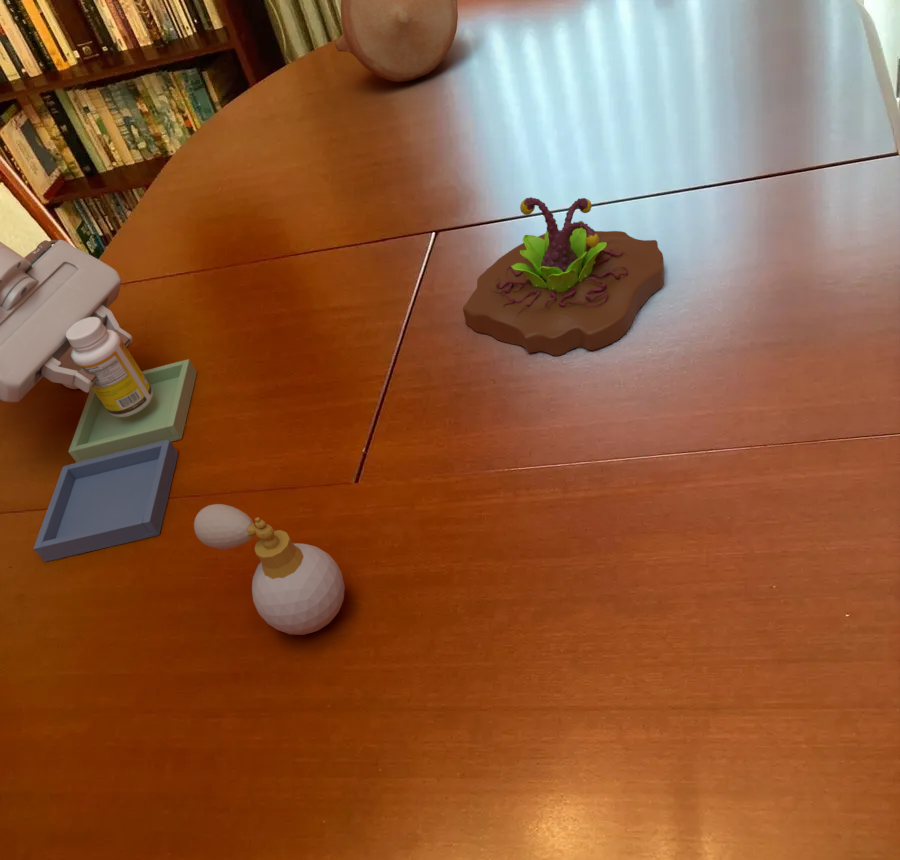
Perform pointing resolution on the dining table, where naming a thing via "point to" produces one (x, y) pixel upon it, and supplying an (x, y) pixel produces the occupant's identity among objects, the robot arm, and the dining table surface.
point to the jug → (398, 35)
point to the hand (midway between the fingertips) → (111, 365)
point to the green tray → (137, 416)
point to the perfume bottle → (279, 570)
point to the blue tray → (108, 501)
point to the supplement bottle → (109, 367)
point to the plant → (565, 286)
